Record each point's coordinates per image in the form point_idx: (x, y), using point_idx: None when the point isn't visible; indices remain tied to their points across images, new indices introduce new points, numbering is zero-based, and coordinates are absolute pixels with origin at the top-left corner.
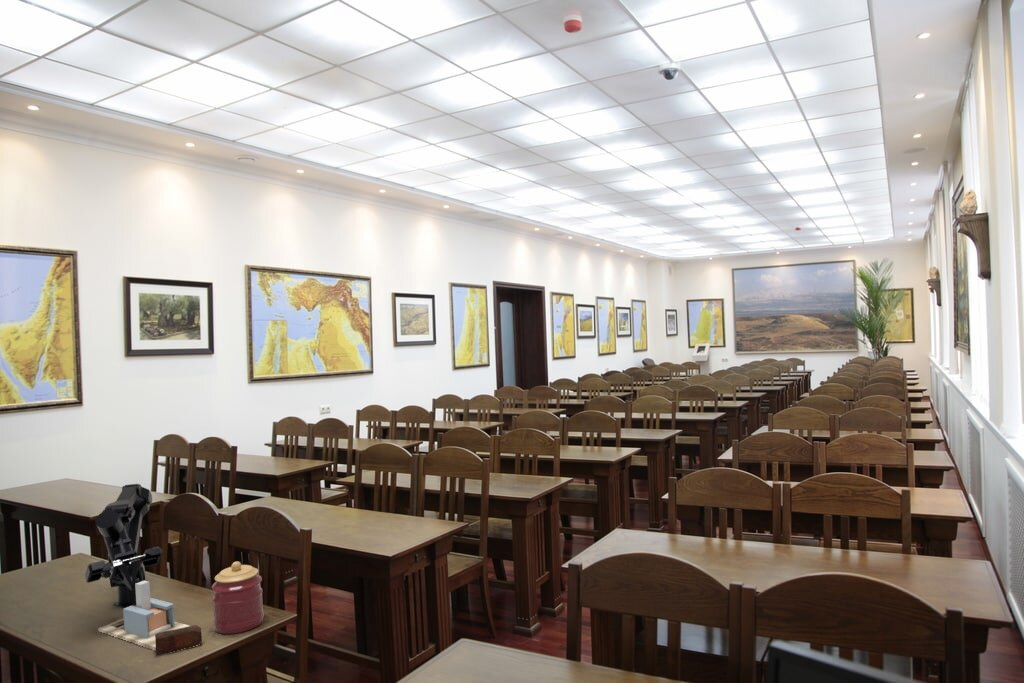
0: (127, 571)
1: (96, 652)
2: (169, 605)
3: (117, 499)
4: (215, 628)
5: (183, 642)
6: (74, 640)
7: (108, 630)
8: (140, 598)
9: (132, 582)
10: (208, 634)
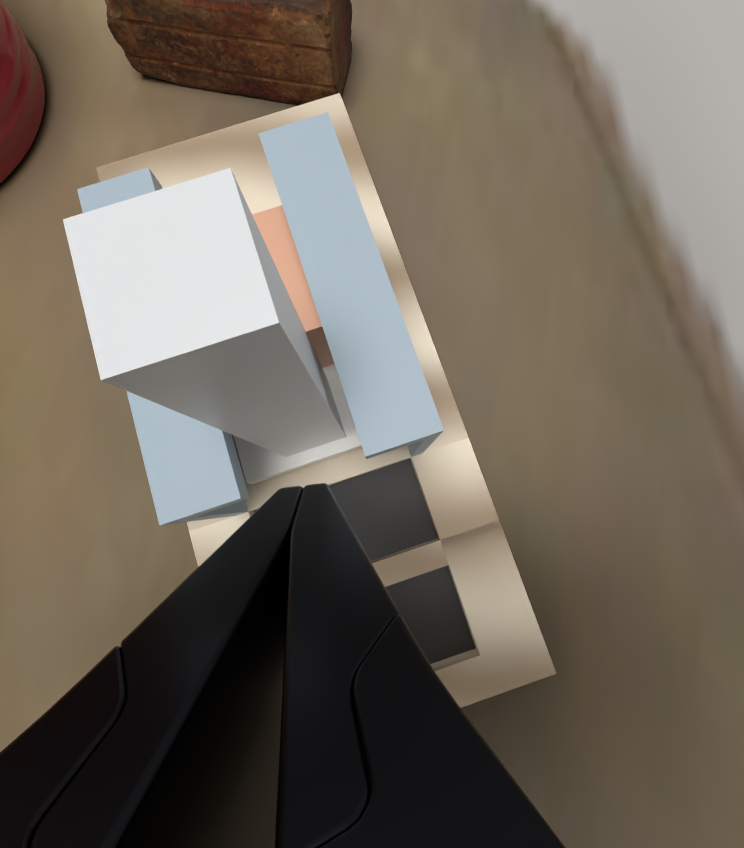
0: (314, 790)
1: (586, 320)
2: (117, 180)
3: None
4: (34, 99)
5: None
6: (688, 631)
7: (502, 563)
8: (290, 305)
9: (286, 539)
10: (86, 110)
